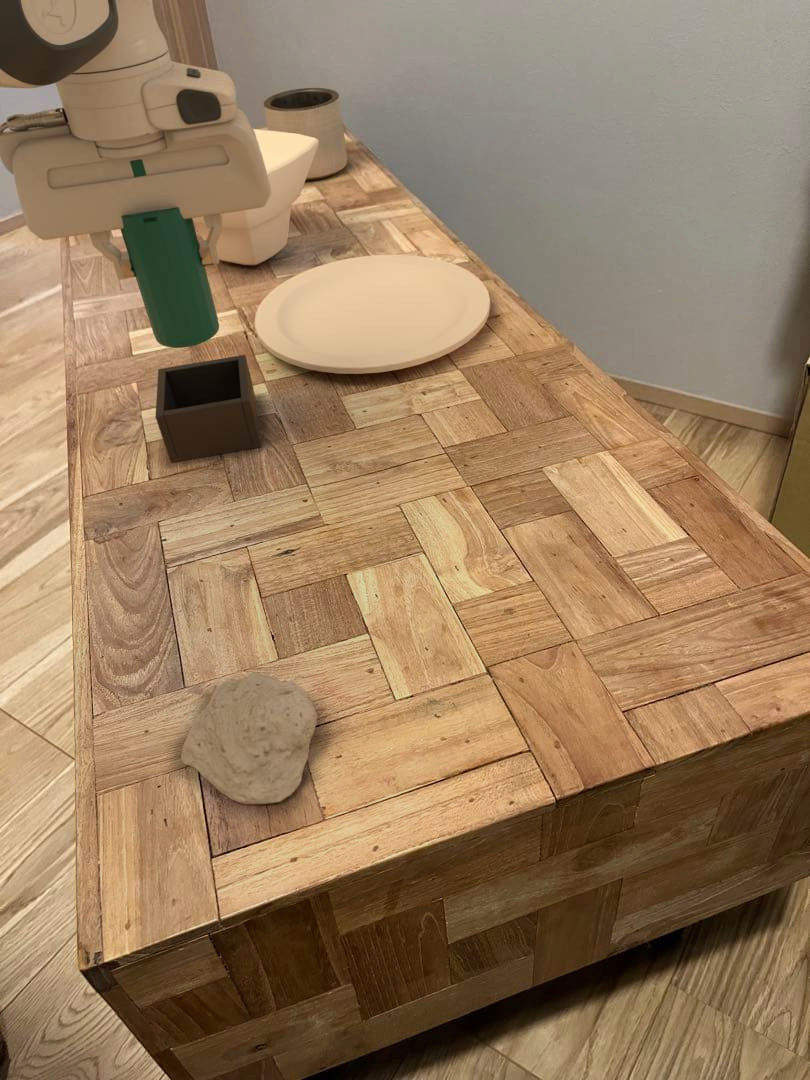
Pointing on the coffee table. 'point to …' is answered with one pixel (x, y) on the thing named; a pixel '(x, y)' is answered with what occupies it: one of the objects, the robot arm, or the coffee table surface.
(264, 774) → the stone
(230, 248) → the bowl
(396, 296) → the plate
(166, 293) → the bottle
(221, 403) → the holder
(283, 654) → the coffee table surface
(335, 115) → the planter
